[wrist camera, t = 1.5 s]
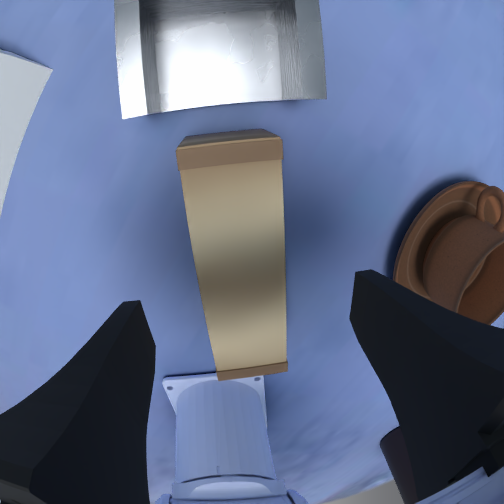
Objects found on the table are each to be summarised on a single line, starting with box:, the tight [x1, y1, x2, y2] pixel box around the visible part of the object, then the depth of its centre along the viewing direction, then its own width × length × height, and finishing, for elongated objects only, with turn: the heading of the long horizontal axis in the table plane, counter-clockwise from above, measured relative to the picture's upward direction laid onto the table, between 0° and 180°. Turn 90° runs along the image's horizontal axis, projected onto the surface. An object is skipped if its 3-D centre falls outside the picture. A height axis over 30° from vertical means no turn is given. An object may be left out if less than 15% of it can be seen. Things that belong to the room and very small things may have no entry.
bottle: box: [380, 427, 419, 504], centre depth 26 cm, size 7×7×20 cm
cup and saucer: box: [393, 181, 504, 325], centre depth 18 cm, size 12×12×6 cm
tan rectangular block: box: [176, 129, 288, 381], centre depth 16 cm, size 13×4×5 cm, turn 4°
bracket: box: [114, 0, 327, 119], centre depth 10 cm, size 7×8×7 cm
